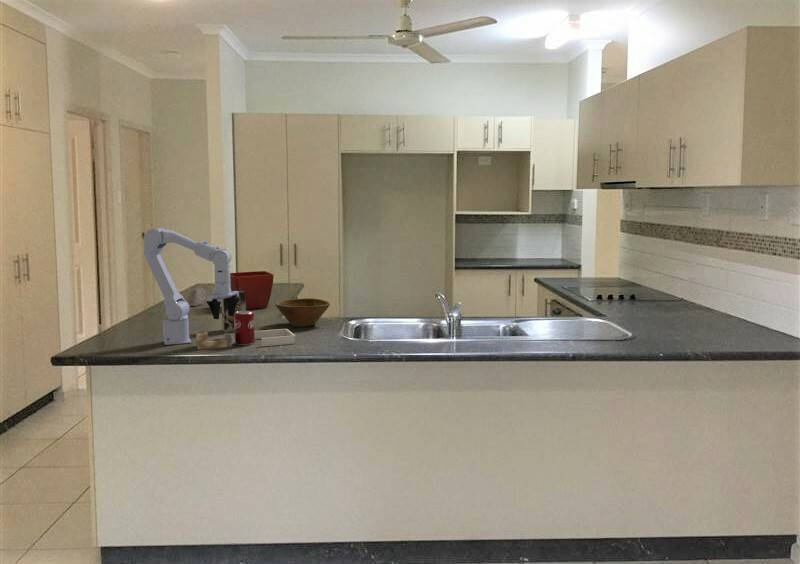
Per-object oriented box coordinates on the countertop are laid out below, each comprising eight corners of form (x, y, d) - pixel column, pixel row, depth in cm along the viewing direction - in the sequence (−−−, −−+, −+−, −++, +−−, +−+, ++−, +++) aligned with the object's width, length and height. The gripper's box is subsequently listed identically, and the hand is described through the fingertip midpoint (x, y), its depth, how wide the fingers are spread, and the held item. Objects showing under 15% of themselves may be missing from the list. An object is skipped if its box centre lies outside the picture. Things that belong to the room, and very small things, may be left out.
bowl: (321, 331, 280) (320, 307, 279) (268, 329, 285) (267, 305, 283) (336, 321, 301) (336, 298, 300) (287, 319, 306) (286, 297, 305)
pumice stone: (195, 302, 355) (195, 283, 354) (209, 303, 354) (208, 284, 352) (181, 307, 340) (180, 287, 339) (195, 307, 339) (194, 288, 338)
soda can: (234, 346, 253) (233, 314, 251) (235, 342, 260) (234, 311, 258) (254, 345, 254) (253, 313, 253) (254, 341, 261) (253, 310, 260)
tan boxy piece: (198, 350, 246) (198, 335, 246) (196, 345, 255) (195, 330, 254) (231, 347, 251) (231, 332, 250) (228, 342, 259) (227, 328, 258)
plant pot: (228, 305, 344) (227, 272, 342) (265, 303, 352) (264, 270, 350) (236, 311, 327) (235, 276, 325) (275, 308, 335) (274, 274, 333)
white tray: (262, 346, 252) (261, 338, 252) (254, 338, 266) (254, 331, 265) (296, 343, 257) (295, 335, 257) (287, 336, 271) (286, 328, 270)
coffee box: (224, 332, 278) (222, 293, 276) (222, 329, 284) (220, 291, 282) (246, 330, 282) (245, 292, 280) (244, 327, 288) (243, 289, 286)
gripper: (215, 284, 249) (216, 321, 250) (244, 280, 261) (245, 315, 263) (202, 283, 252) (203, 319, 254) (230, 279, 264) (231, 313, 266)
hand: (223, 317), depth 259 cm, fingers open, 7 cm apart
